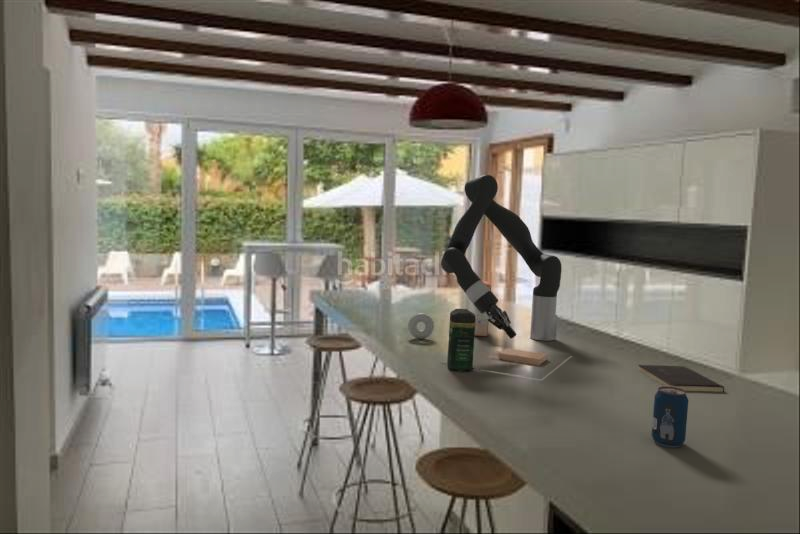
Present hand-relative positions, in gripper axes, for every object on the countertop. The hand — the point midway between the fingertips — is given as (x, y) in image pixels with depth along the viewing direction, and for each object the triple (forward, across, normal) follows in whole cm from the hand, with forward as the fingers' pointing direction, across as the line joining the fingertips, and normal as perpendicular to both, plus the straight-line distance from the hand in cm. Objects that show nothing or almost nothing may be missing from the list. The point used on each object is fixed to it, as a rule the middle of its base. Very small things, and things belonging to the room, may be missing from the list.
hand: (513, 336), depth 214 cm
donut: (-22, +10, +34) cm, 42 cm away
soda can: (+44, -54, -32) cm, 77 cm away
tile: (+2, 0, +7) cm, 7 cm away
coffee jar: (-2, -21, +13) cm, 25 cm away
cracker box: (-12, +36, +24) cm, 45 cm away
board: (+7, 0, +5) cm, 8 cm away
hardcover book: (+42, +7, -30) cm, 52 cm away
